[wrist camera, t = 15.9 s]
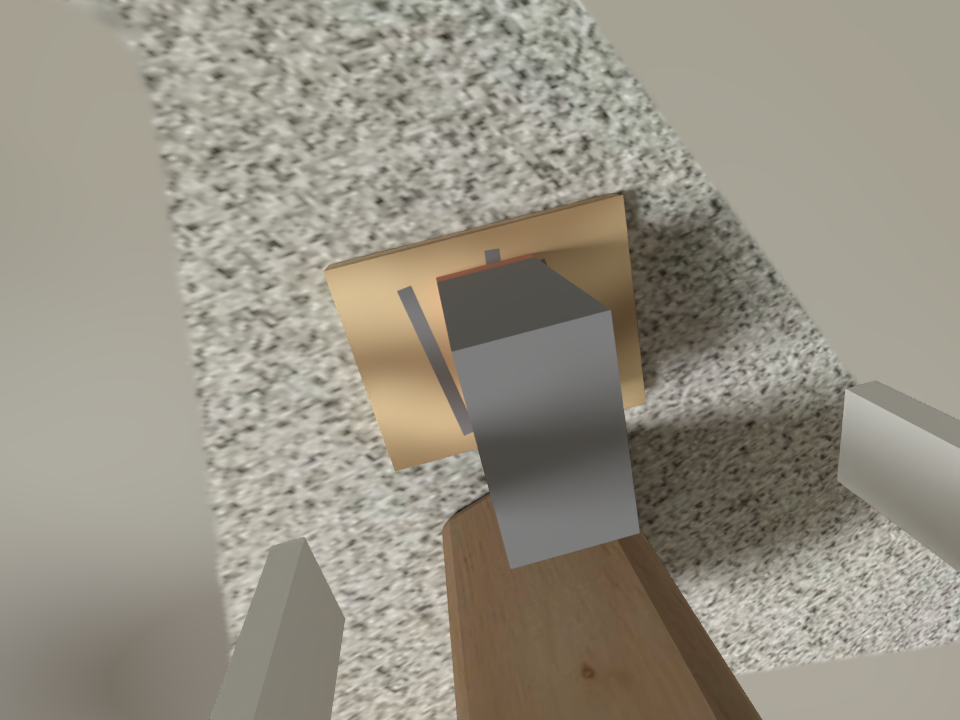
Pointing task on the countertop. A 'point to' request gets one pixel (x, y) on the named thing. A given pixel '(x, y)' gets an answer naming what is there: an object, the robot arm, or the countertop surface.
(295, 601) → the robot arm
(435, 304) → the board
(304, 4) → the countertop surface
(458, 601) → the wooden block
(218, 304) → the countertop surface
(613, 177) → the countertop surface
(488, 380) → the block
